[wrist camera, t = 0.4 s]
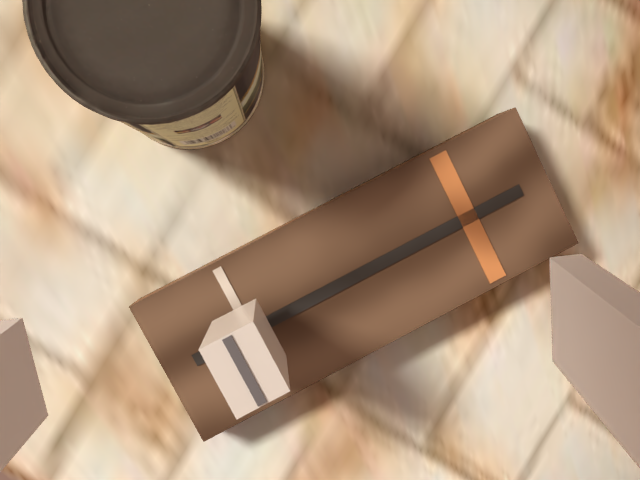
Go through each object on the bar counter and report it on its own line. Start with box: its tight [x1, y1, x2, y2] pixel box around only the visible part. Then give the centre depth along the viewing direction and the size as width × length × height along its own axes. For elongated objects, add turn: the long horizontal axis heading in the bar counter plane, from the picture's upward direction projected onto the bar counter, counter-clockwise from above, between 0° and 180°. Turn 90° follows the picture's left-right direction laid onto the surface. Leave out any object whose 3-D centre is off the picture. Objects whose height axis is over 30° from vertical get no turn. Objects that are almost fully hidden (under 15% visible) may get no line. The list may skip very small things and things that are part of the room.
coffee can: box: [22, 0, 264, 149], centre depth 33 cm, size 10×10×14 cm
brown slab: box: [129, 108, 578, 441], centre depth 40 cm, size 10×28×3 cm, turn 117°
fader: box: [199, 299, 290, 419], centre depth 34 cm, size 4×3×9 cm
